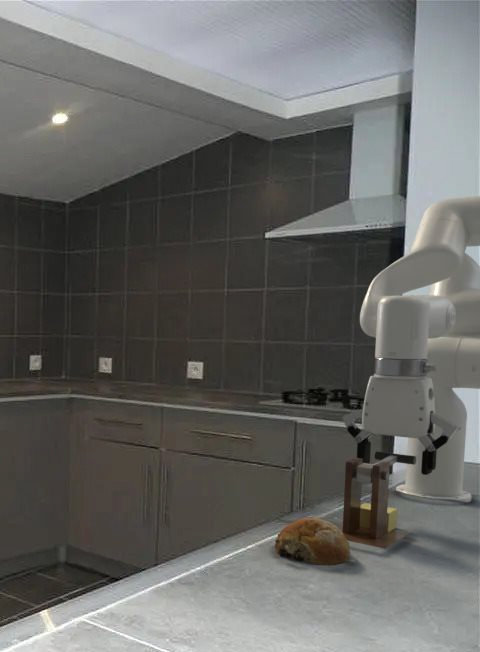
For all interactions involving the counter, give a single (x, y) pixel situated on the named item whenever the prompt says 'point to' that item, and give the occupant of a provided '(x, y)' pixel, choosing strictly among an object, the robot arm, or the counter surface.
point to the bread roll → (313, 542)
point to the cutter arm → (367, 469)
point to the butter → (366, 511)
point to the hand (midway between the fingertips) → (394, 468)
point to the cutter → (378, 507)
